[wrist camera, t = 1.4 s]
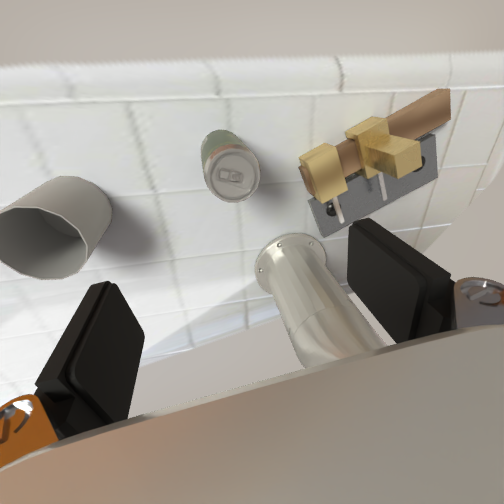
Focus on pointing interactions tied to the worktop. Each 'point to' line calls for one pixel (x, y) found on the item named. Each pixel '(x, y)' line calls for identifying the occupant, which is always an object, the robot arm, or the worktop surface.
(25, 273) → the cup
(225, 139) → the green soda can
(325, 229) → the hole plate
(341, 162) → the rail
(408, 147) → the slider head
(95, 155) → the worktop surface
